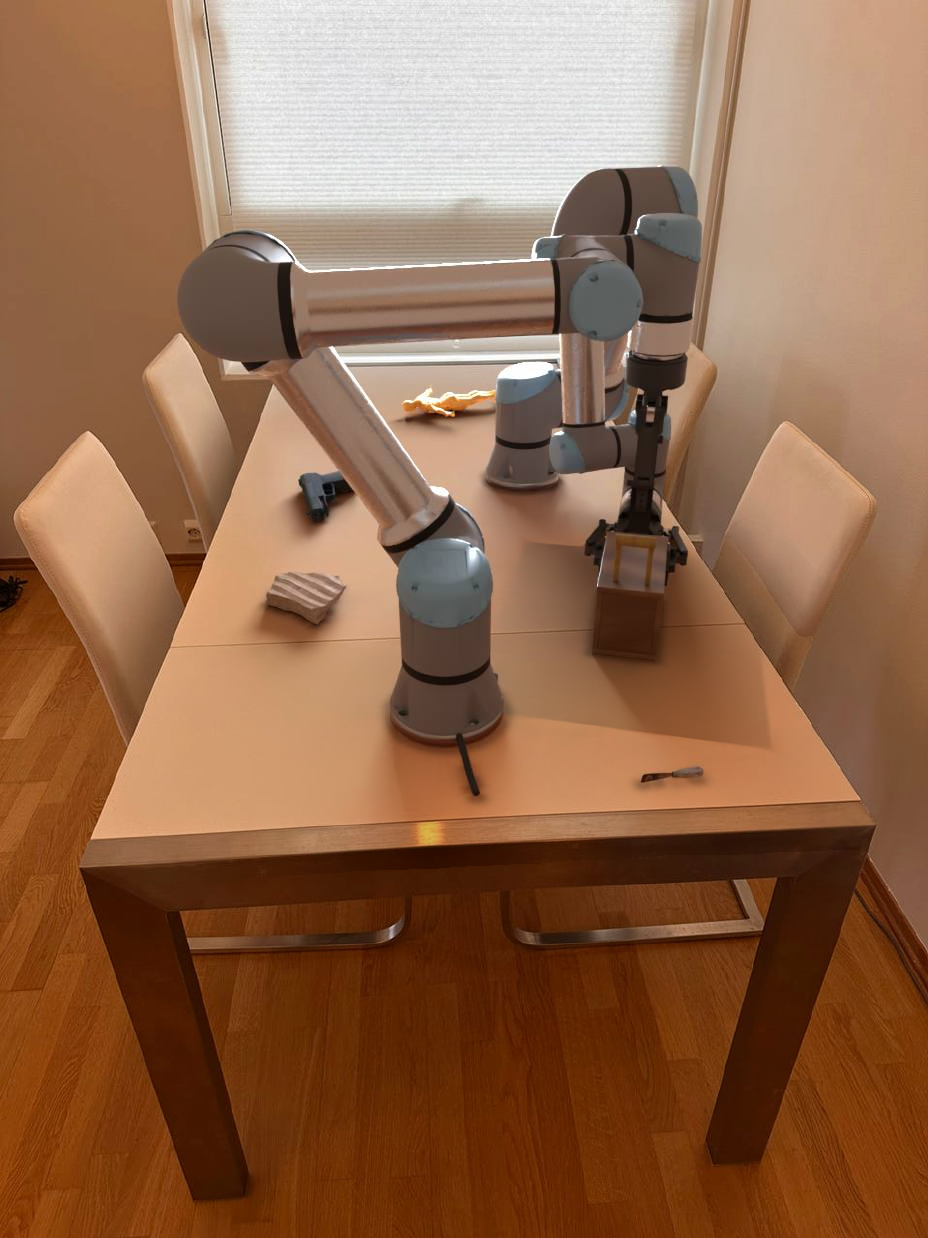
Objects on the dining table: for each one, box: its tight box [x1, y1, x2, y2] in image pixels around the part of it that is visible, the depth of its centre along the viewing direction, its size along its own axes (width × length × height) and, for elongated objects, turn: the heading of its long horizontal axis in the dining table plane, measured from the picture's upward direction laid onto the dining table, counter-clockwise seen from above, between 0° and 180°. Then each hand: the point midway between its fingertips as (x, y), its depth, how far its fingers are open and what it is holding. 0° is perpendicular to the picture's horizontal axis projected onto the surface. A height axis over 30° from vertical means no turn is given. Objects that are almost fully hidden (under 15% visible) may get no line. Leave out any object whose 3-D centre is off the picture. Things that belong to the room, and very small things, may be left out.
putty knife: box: [640, 765, 705, 784], centre depth 109 cm, size 1×8×2 cm, turn 103°
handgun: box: [298, 470, 354, 522], centre depth 178 cm, size 3×18×12 cm
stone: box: [265, 571, 347, 625], centre depth 145 cm, size 13×12×2 cm
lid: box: [596, 531, 668, 600], centre depth 131 cm, size 18×9×8 cm, turn 168°
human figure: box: [402, 385, 496, 418], centre depth 225 cm, size 20×20×4 cm
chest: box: [591, 591, 664, 661], centre depth 136 cm, size 17×9×11 cm, turn 168°
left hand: (640, 509), depth 121 cm, fingers open, 13 cm apart
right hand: (632, 575), depth 140 cm, fingers closed on chest, 9 cm apart
